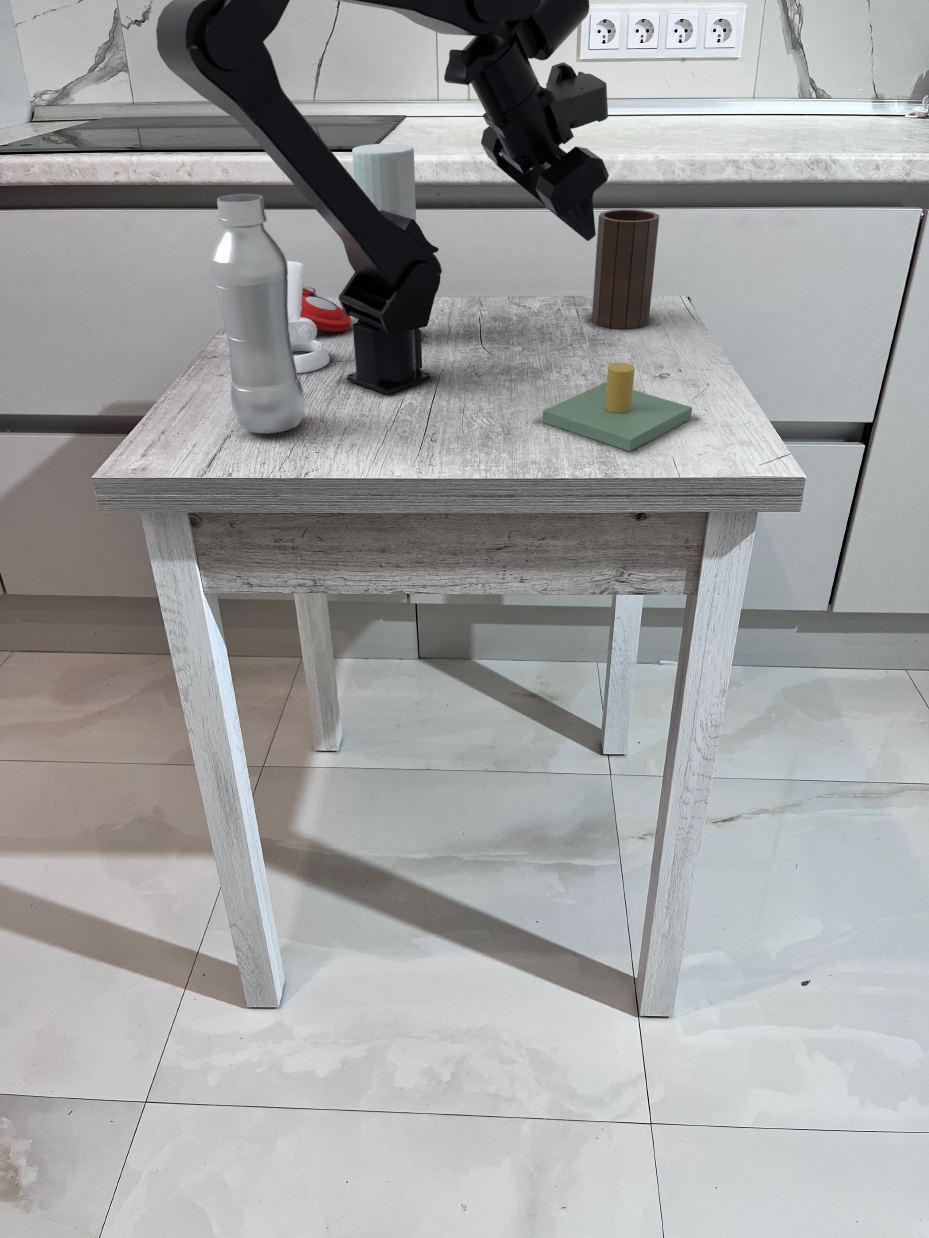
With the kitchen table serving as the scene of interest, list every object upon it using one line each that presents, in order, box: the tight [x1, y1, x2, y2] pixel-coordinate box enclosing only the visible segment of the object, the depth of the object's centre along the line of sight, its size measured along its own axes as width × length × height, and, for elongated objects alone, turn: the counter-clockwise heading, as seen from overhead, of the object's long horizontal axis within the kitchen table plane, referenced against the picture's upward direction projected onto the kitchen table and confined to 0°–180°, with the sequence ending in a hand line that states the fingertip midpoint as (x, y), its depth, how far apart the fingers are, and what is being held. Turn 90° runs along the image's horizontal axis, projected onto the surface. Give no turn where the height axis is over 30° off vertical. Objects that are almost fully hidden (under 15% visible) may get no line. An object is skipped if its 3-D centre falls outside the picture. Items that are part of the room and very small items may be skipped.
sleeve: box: [591, 208, 660, 330], centre depth 111 cm, size 7×7×12 cm
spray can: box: [351, 143, 417, 302], centre depth 104 cm, size 6×6×20 cm
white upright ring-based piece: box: [286, 260, 331, 374], centre depth 102 cm, size 8×12×7 cm
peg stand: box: [542, 362, 693, 452], centre depth 87 cm, size 10×10×5 cm
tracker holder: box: [300, 284, 352, 333], centre depth 113 cm, size 12×4×10 cm
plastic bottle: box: [208, 193, 306, 434], centre depth 82 cm, size 6×7×20 cm
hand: (571, 221), depth 102 cm, fingers open, 9 cm apart
